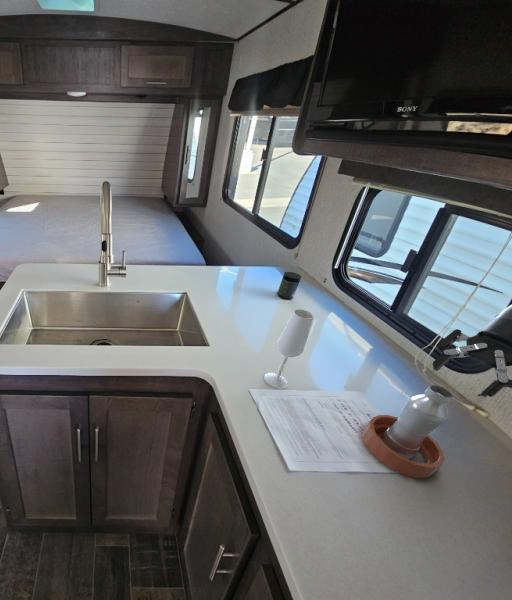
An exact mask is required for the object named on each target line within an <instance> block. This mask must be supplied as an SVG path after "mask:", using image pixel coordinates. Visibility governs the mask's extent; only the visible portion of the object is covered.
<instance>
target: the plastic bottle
mask: <svg viewBox="0 0 512 600" xmlns="http://www.w3.org/2000/svg"><path fill="white" fill-rule="evenodd" d="M423 392H424V393H419V394H416V395H413V396H411V397H409V398H408V399H407V401H406V403H405V406H404V408H403V410H402V412H401V414H400V415H399V417H398V420H397V421H396V422H395V423H394V424H393V425H392V426H391V427H390V428H388V429H387V430H386V431H385V432H383V433H382V435H381V437H379V438H380V440H381V441H382V442H383V443H384V444H385V445H386V446H388V447H389V448H390V449H391V450H393V451H394V452H396V453H397V454H399V455H401V456H402V457H404V458H407V459H409V460H411V459H412V458H414V457H415V456H416V455H417V454H418V453H419V448H420V446H421V444H422V442H423V441H424V439H425V438H426V437H427V436H428V435H430V434H432V432H433V431H435V429H437V428H438V427H440V426H441V425H442V424H444V423H445V422H446V421H447V420H448V419H449V413H450V412H449V410H448V406H447V405H448V404H449V403H450V402H451V400H452V398H453V397H454V396H453V393H452V392H451V391H450V390H448V389H447V388H445V387H443V386H440V385H437V384H430V385H429V386H428V387H427V388H426V389H425V390H424V391H423Z"/></svg>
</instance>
